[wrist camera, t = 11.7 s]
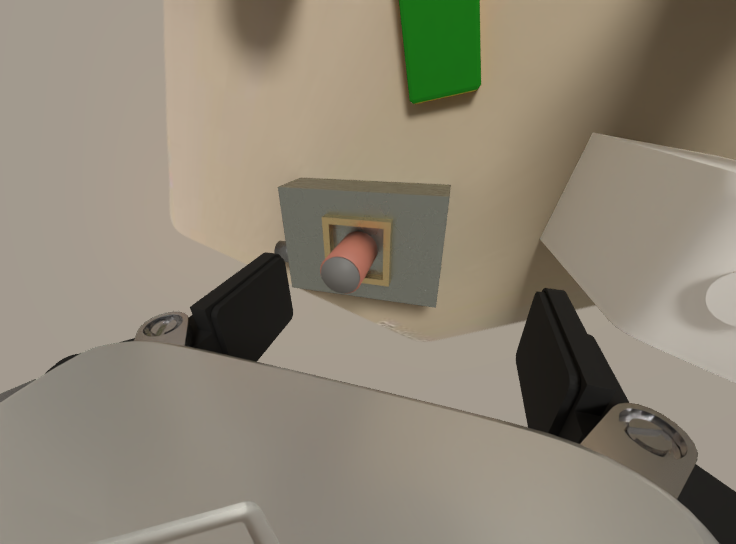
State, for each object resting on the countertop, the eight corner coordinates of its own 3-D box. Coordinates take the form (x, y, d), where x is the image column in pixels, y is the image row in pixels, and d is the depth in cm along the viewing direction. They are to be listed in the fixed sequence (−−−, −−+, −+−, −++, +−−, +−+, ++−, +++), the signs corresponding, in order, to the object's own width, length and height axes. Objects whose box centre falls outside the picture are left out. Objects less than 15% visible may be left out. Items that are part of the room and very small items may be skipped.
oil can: (378, 233, 35) (361, 259, 29) (377, 267, 37) (361, 298, 31) (341, 229, 36) (317, 253, 30) (342, 263, 38) (320, 291, 32)
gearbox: (450, 184, 36) (449, 199, 30) (438, 284, 43) (435, 313, 37) (280, 176, 41) (249, 187, 35) (293, 266, 48) (269, 288, 42)
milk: (641, 263, 35) (967, 529, 13) (539, 238, 36) (667, 434, 14) (719, 156, 29) (1614, 301, 6) (592, 132, 30) (959, 183, 8)
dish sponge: (412, 105, 34) (409, 104, 32) (395, -61, 28) (390, -75, 26) (479, 90, 32) (481, 88, 29) (476, -94, 26) (477, -112, 24)
